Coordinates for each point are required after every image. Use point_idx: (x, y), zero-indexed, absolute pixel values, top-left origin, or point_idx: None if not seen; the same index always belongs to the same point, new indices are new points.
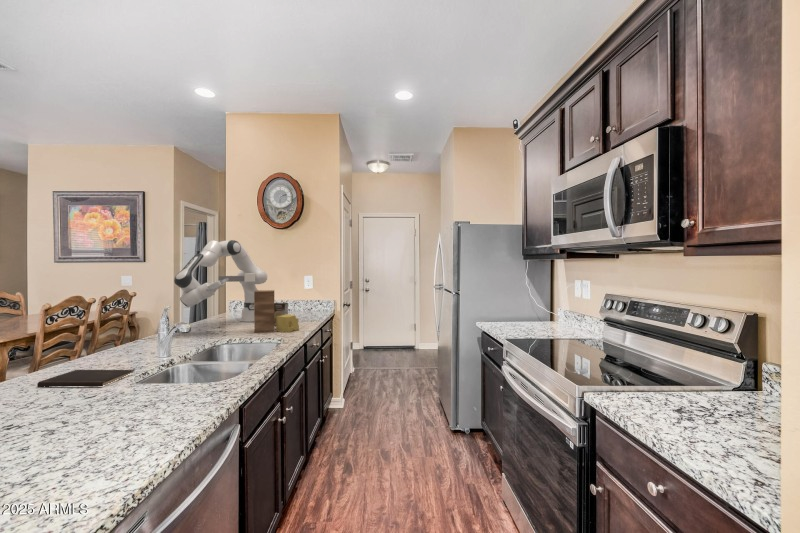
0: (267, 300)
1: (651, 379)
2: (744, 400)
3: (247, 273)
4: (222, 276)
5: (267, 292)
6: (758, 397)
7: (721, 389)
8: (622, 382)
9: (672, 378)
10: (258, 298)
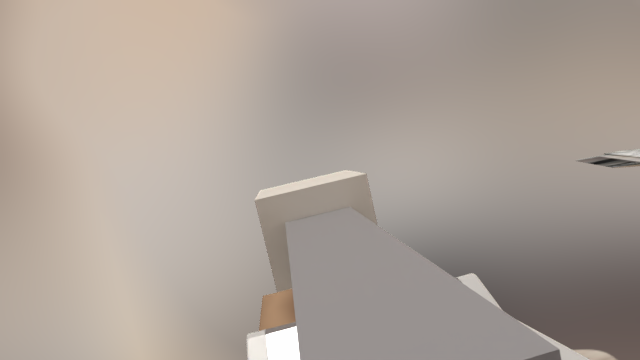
0: None
1: (604, 162)
2: (636, 151)
3: (293, 188)
4: (475, 305)
5: None
6: (623, 151)
7: (612, 155)
8: (628, 163)
9: (593, 161)
10: None
